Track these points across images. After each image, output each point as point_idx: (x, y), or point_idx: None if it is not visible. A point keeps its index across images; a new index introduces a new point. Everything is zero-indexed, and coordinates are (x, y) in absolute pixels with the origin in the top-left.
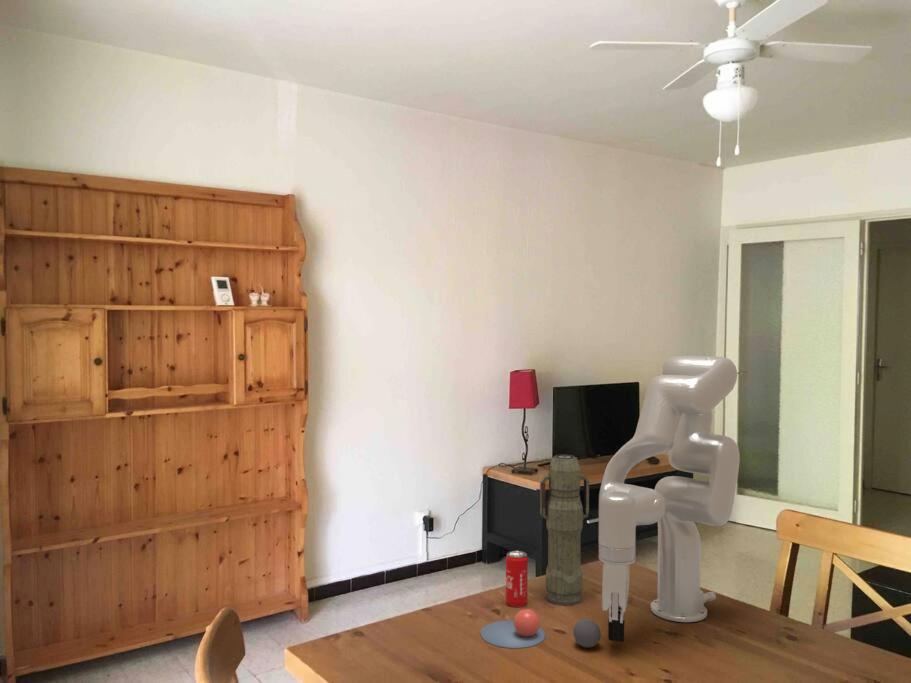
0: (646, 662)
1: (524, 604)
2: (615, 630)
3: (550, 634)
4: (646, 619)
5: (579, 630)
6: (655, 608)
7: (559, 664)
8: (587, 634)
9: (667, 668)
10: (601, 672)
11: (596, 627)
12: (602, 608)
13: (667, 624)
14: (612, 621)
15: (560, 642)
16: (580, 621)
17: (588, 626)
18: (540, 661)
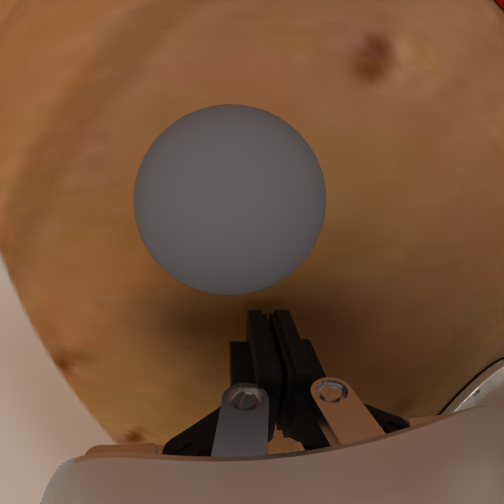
0: (159, 407)
1: (500, 3)
2: (231, 379)
3: (325, 15)
4: (463, 365)
5: (147, 154)
6: (489, 381)
7: (27, 105)
8: (135, 216)
9: (148, 441)
10: (22, 273)
11: (195, 287)
12: (56, 471)
13: (428, 411)
14: (214, 412)
15: (244, 55)
16: (216, 152)
17: (156, 231)
18: (43, 33)
